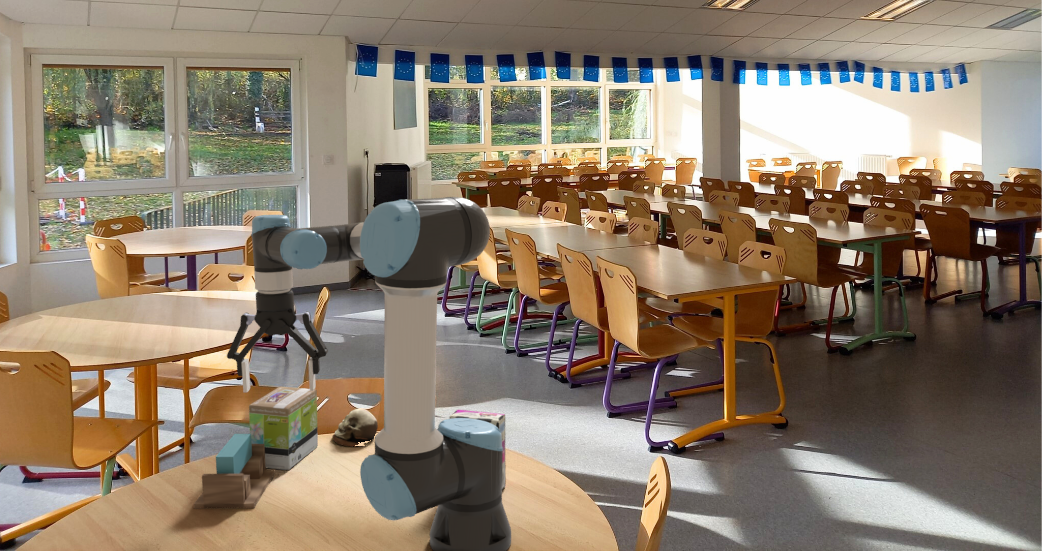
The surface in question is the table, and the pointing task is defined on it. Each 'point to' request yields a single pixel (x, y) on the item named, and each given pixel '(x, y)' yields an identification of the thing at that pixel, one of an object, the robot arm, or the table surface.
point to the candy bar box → (493, 419)
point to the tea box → (285, 425)
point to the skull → (356, 428)
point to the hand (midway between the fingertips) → (279, 389)
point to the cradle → (237, 484)
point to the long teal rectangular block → (234, 454)
